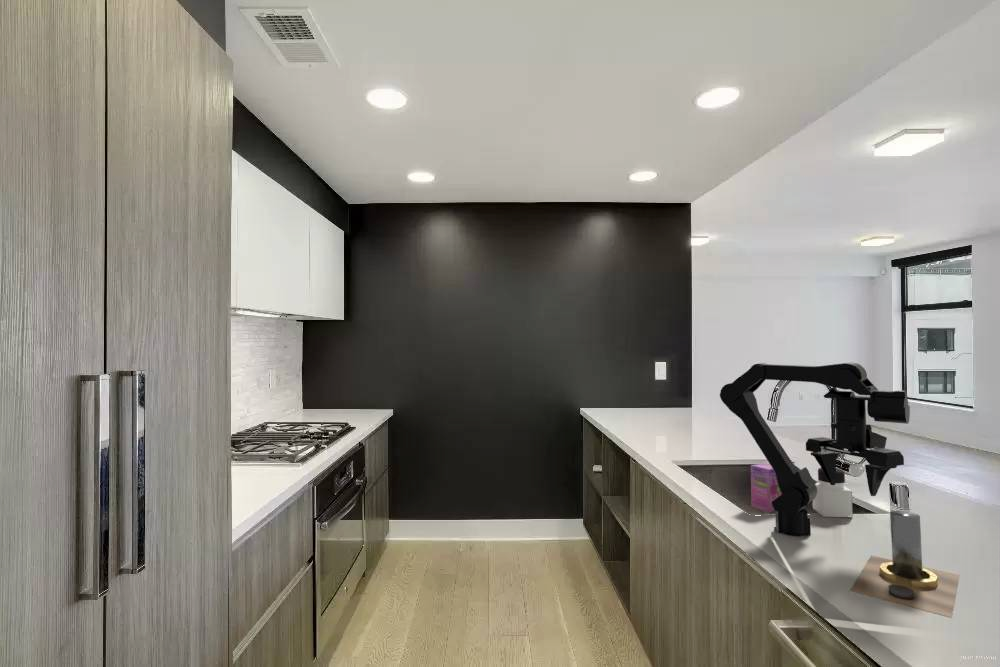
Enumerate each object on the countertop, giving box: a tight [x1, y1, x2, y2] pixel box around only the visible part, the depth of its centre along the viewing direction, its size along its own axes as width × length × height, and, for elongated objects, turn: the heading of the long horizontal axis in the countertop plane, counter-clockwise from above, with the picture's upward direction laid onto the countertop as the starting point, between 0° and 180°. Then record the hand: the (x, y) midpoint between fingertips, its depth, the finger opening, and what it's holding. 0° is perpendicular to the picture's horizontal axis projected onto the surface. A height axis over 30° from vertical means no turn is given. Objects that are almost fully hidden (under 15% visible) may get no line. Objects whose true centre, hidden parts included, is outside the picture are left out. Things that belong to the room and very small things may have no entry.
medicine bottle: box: [812, 467, 854, 518], centre depth 139 cm, size 7×7×12 cm
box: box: [750, 461, 782, 513], centre depth 145 cm, size 10×6×12 cm, turn 117°
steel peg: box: [889, 510, 923, 580], centre depth 100 cm, size 4×4×12 cm
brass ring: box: [879, 562, 938, 589], centre depth 99 cm, size 8×8×1 cm
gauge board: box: [849, 555, 960, 619], centre depth 98 cm, size 21×14×2 cm, turn 136°
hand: (852, 490), depth 115 cm, fingers open, 9 cm apart
